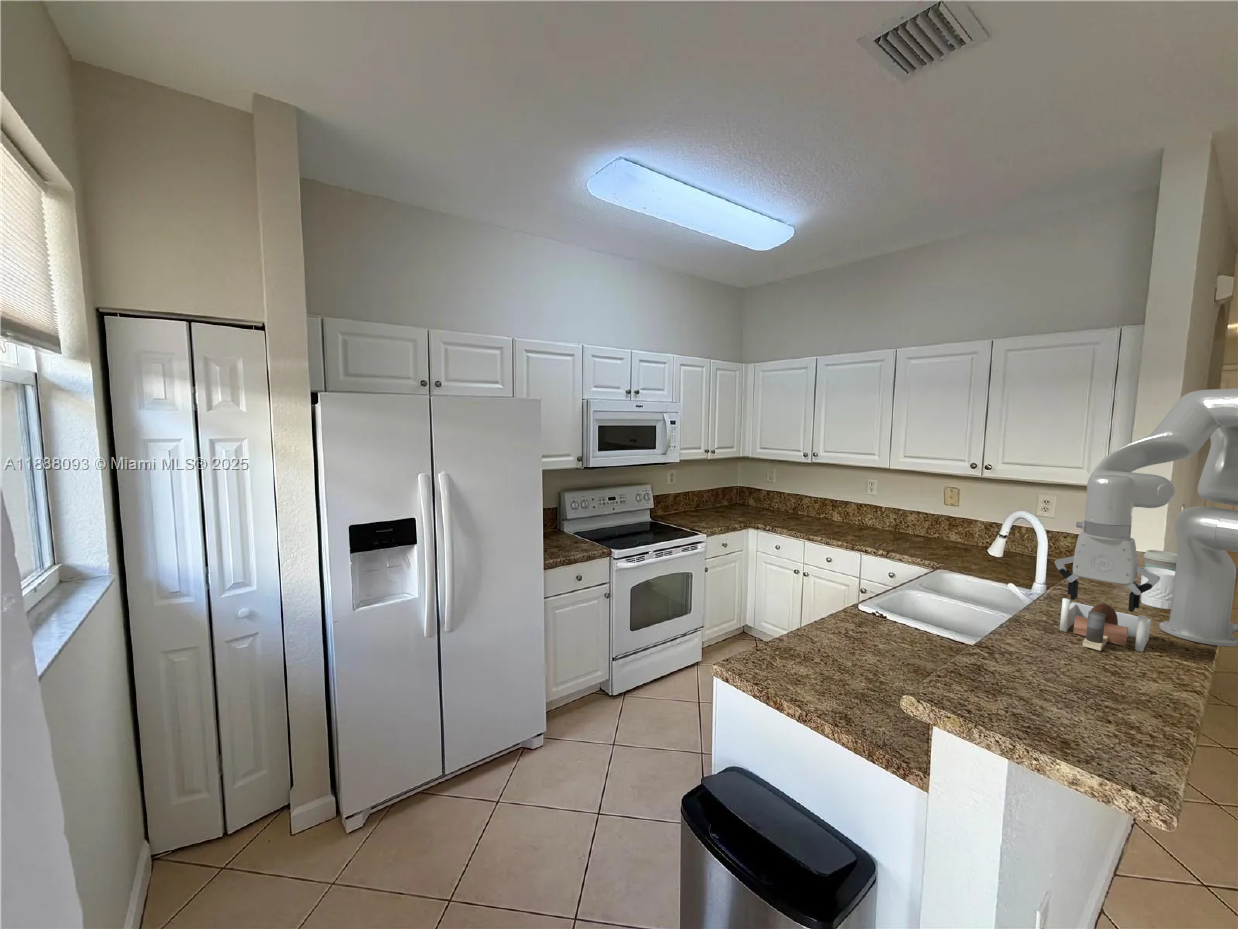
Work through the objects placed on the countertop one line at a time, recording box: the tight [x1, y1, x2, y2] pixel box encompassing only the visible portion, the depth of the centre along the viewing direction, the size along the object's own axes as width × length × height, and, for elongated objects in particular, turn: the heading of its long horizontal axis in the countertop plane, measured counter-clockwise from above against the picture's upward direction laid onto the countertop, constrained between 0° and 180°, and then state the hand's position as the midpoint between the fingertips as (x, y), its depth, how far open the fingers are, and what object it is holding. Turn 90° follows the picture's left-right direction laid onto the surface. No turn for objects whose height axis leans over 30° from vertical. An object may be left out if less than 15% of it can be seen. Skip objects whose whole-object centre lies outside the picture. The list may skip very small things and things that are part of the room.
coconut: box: [1091, 603, 1118, 625], centre depth 122 cm, size 5×5×8 cm
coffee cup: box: [1143, 549, 1177, 571], centre depth 158 cm, size 8×8×12 cm
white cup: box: [1140, 566, 1175, 610], centre depth 144 cm, size 8×8×10 cm
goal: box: [1059, 597, 1152, 653], centre depth 123 cm, size 11×15×8 cm
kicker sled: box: [1072, 611, 1128, 652], centre depth 117 cm, size 10×9×8 cm
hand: (1101, 604), depth 115 cm, fingers open, 9 cm apart
